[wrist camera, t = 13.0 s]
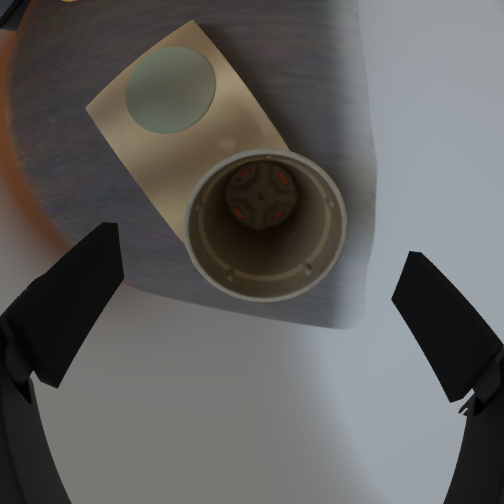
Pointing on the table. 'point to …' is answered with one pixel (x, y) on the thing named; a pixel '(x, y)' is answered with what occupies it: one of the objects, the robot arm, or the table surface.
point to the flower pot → (265, 225)
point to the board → (179, 118)
